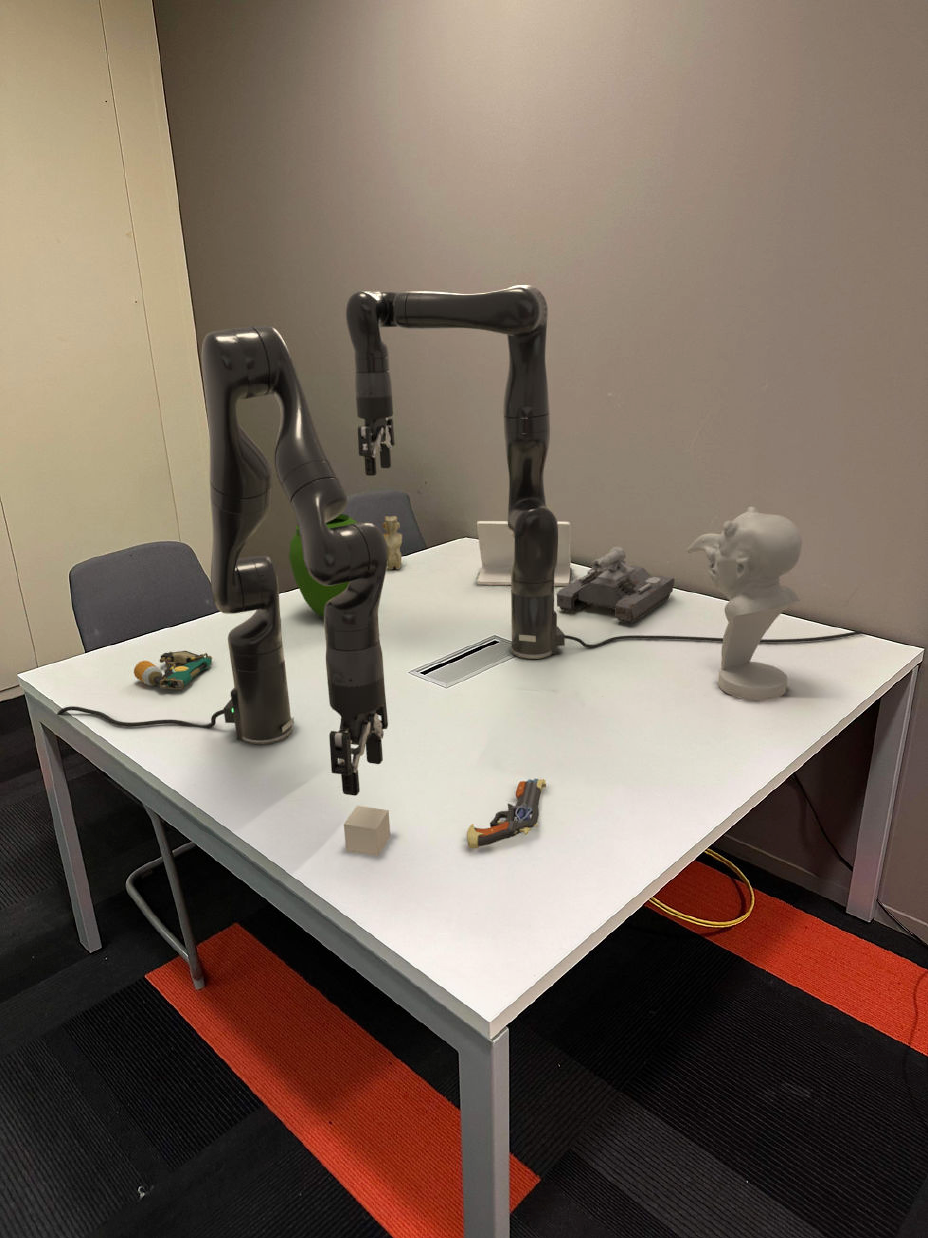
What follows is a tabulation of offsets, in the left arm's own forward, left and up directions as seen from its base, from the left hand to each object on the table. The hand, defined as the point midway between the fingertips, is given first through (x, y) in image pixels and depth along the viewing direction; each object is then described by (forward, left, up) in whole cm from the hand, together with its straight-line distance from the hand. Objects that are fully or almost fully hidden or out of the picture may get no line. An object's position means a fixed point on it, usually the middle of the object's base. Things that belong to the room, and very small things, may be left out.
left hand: (363, 777), depth 119 cm
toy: (+41, +103, -11) cm, 111 cm away
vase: (-29, +94, -11) cm, 99 cm away
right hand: (-12, +78, +28) cm, 84 cm away
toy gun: (+20, +8, -11) cm, 24 cm away
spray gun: (-53, +55, -11) cm, 78 cm away
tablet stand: (+17, +127, -11) cm, 128 cm away
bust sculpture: (+61, +58, -11) cm, 85 cm away
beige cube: (0, 0, -11) cm, 11 cm away
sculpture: (-22, +133, -11) cm, 135 cm away
